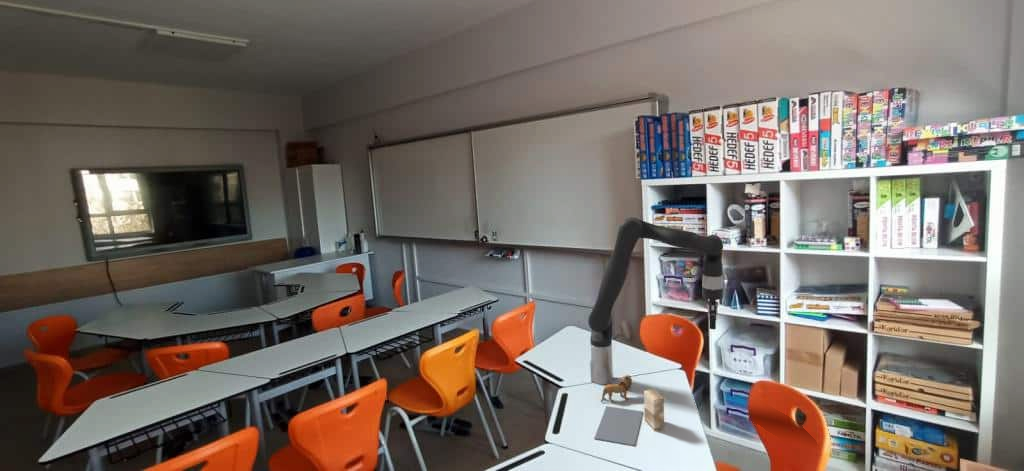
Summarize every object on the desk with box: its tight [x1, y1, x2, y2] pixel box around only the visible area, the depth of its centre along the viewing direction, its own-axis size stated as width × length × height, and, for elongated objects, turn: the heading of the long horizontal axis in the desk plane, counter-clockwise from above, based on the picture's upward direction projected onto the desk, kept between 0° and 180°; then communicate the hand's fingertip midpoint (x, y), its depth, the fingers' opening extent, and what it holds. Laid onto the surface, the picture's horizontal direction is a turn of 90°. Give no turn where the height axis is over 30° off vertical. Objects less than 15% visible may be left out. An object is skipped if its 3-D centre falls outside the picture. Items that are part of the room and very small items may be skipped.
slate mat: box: [593, 405, 644, 447], centre depth 170 cm, size 14×22×1 cm, turn 157°
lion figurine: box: [600, 374, 633, 403], centre depth 188 cm, size 15×5×9 cm, turn 110°
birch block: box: [643, 388, 665, 432], centre depth 168 cm, size 4×7×12 cm, turn 12°
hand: (712, 325), depth 183 cm, fingers open, 8 cm apart
